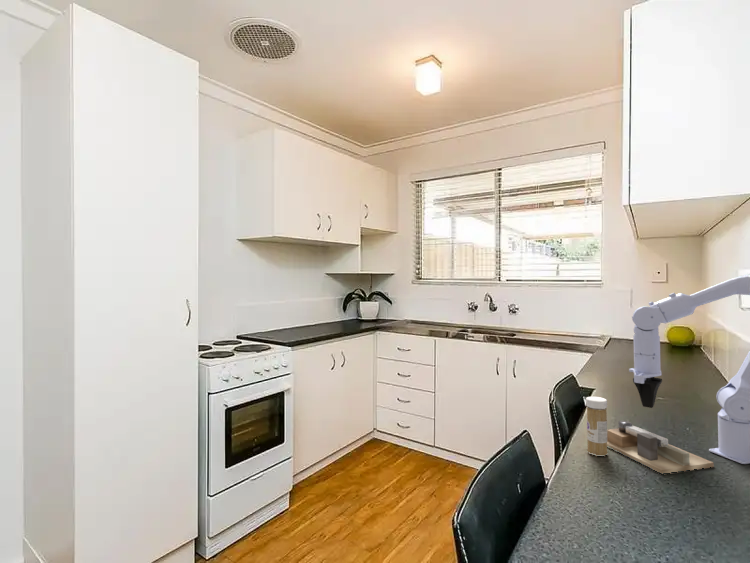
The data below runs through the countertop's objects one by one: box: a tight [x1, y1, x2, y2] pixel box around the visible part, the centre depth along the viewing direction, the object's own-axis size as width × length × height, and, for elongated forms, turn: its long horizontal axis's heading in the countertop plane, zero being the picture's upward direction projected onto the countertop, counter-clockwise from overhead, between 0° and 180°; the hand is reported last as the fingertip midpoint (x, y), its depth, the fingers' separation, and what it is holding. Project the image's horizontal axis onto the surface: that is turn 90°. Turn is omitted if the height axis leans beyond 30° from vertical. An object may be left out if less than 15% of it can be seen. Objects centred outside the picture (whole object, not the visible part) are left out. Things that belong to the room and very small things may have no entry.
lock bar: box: [618, 420, 669, 447], centre depth 103 cm, size 12×3×2 cm, turn 14°
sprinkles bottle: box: [585, 396, 609, 455], centre depth 103 cm, size 5×5×14 cm
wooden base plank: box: [607, 427, 715, 474], centre depth 102 cm, size 14×18×6 cm
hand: (648, 406), depth 109 cm, fingers closed
